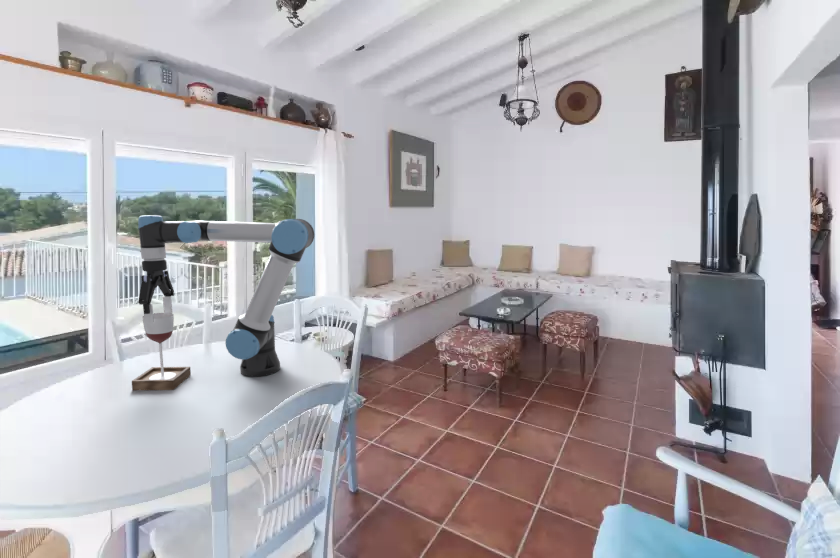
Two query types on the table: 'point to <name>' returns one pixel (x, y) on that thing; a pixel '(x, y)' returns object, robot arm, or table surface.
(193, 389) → the table surface
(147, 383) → the tray
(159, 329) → the wineglass
